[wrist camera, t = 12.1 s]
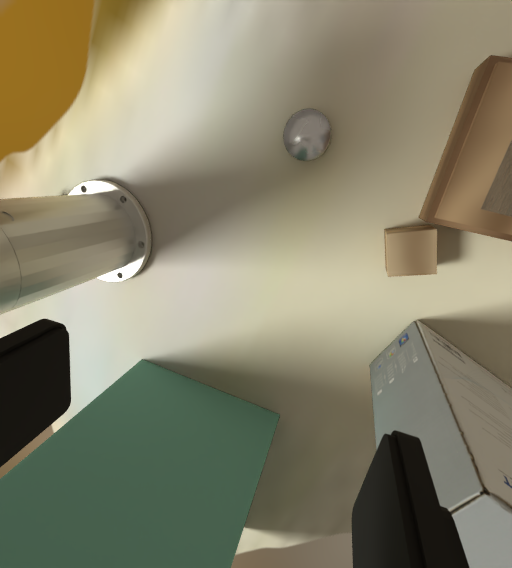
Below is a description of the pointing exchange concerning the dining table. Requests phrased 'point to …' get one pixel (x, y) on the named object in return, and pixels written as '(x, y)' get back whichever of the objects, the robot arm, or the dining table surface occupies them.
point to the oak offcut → (411, 250)
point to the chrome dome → (307, 134)
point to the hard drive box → (453, 434)
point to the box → (139, 479)
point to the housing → (501, 188)
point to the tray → (475, 155)
